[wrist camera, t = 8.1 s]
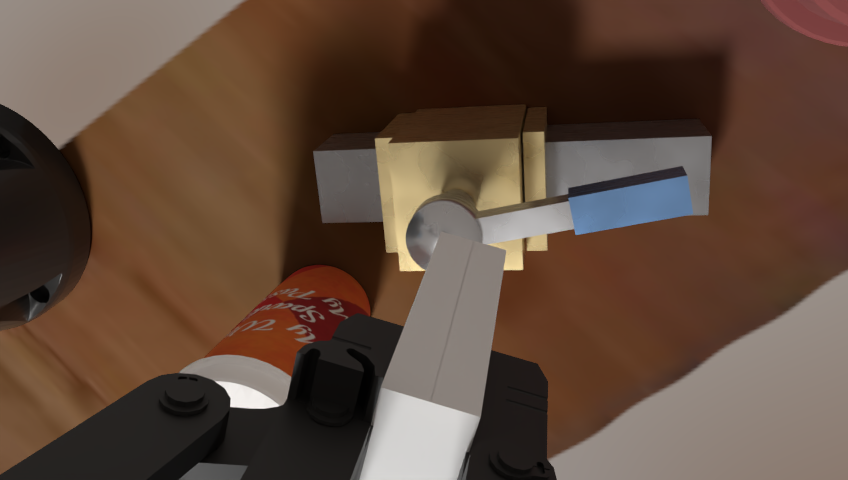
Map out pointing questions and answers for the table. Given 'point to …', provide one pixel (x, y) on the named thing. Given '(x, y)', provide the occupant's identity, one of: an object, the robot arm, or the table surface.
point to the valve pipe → (494, 165)
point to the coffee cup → (281, 335)
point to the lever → (552, 212)
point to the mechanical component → (814, 18)
